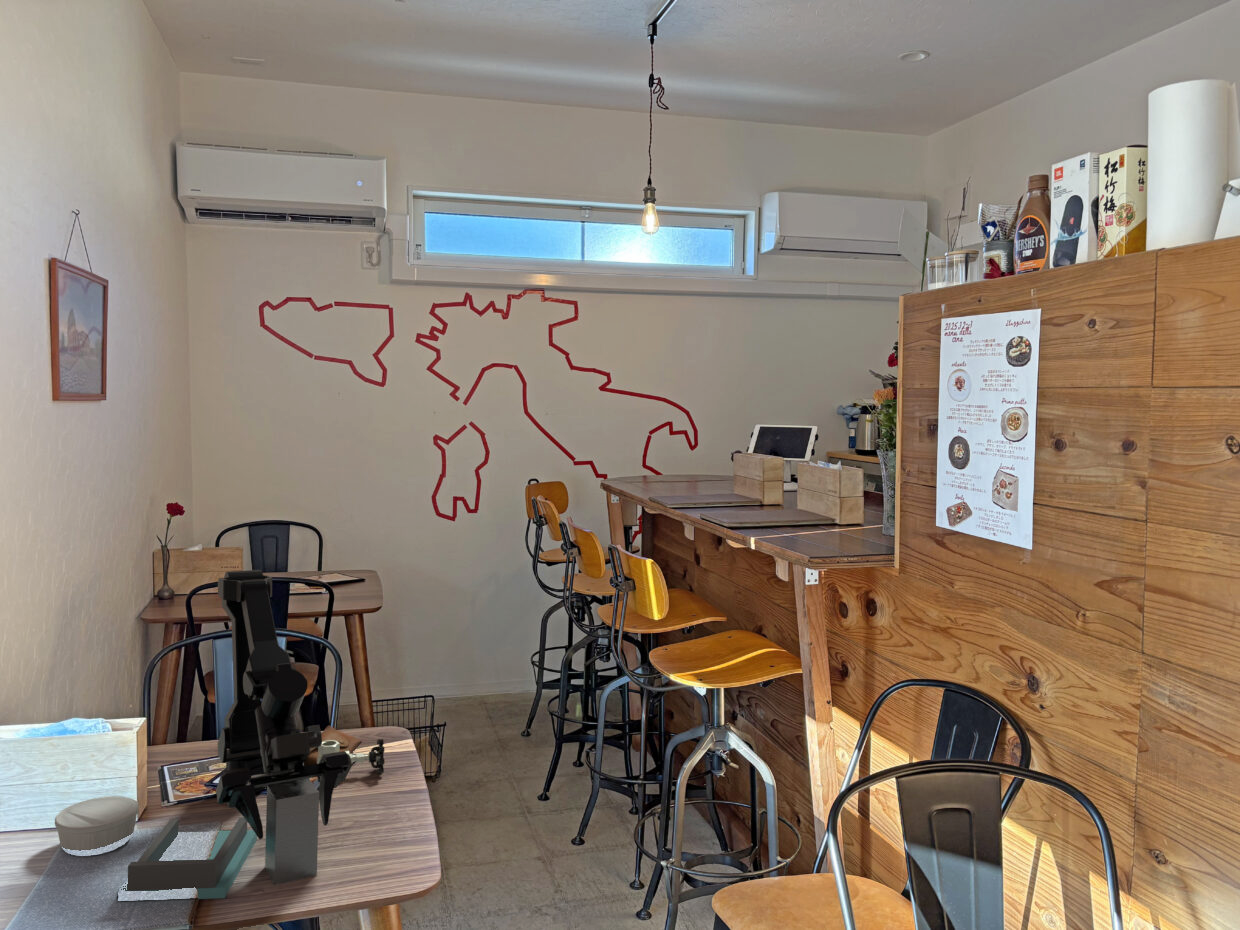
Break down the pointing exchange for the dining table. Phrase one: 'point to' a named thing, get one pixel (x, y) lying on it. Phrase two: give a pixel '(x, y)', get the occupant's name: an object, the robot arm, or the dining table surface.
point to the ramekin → (96, 822)
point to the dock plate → (193, 863)
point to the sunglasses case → (331, 734)
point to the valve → (373, 756)
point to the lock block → (291, 830)
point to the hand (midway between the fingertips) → (294, 831)
